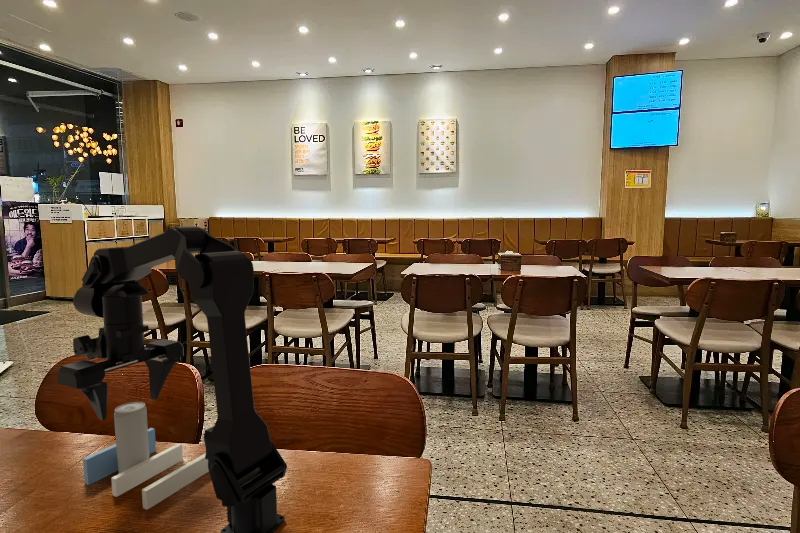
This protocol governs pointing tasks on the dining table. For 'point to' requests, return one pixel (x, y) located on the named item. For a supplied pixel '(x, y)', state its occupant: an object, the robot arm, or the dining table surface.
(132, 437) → the beverage can
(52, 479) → the dining table surface
